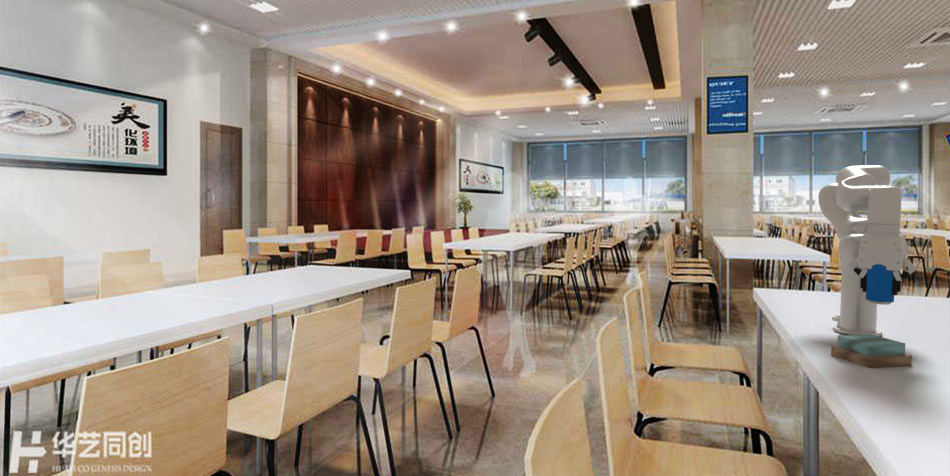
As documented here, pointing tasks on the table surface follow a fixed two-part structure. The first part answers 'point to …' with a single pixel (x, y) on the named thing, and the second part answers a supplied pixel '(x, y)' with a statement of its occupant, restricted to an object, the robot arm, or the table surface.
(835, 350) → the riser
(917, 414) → the table surface
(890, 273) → the beverage can
